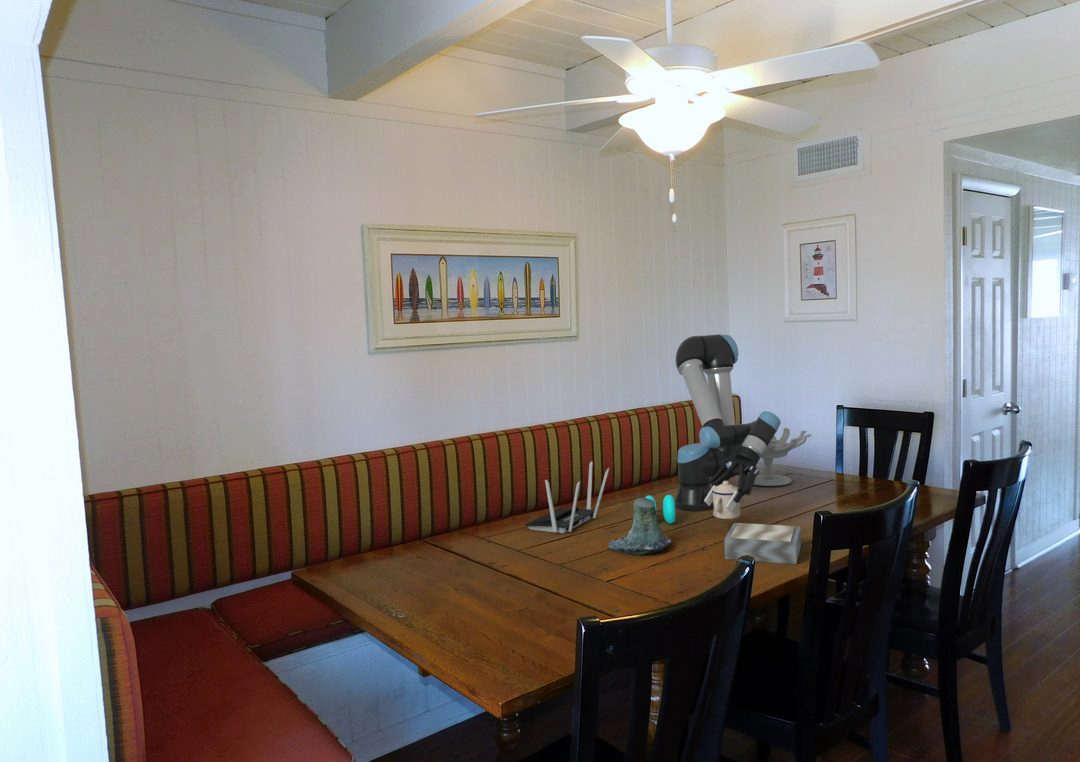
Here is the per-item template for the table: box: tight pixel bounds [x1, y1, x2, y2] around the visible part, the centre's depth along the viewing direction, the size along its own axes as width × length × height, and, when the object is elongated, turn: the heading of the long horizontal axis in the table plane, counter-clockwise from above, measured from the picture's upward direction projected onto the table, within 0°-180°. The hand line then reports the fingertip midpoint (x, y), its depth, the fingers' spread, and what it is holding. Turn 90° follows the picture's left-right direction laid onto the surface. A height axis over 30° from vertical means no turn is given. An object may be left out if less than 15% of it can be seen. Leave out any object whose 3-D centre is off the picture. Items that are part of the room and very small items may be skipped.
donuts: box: [644, 494, 676, 524], centre depth 266 cm, size 10×10×10 cm
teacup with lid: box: [712, 480, 741, 520], centre depth 250 cm, size 12×9×12 cm
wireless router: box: [524, 461, 610, 534], centre depth 269 cm, size 34×23×20 cm
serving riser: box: [724, 522, 802, 565], centre depth 228 cm, size 20×18×6 cm
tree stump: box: [607, 497, 672, 556], centre depth 238 cm, size 19×21×19 cm
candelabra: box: [753, 427, 812, 487], centre depth 320 cm, size 34×35×27 cm
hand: (717, 506), depth 250 cm, fingers closed on teacup with lid, 9 cm apart
